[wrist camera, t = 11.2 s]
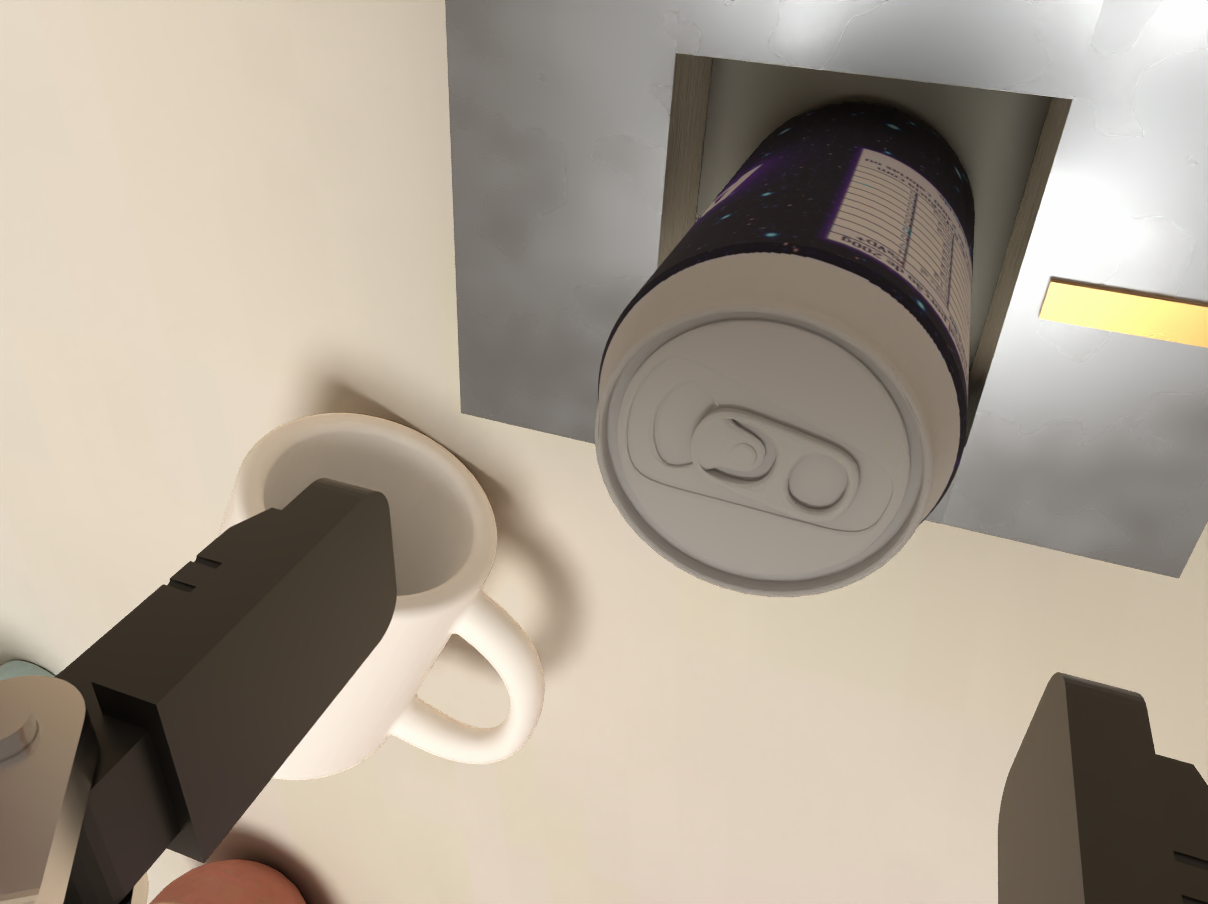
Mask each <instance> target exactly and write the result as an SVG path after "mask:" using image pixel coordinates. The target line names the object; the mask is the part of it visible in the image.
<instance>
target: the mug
mask: <svg viewBox="0 0 1208 904" xmlns="http://www.w3.org/2000/svg"><path fill="white" fill-rule="evenodd" d="M320 478H329V479H333V480H337V481H340V482H344V483H348V484H352V485H356V486H359V487H363V488H367V489H371V490H375V491H378V492H381V493H383V494H384V495H385V497H386V498H387V500H388V504H389V509H390V519H391V530H392V541H393V552H394V563H395V574H396V585H397V599H396V605H395V610H394V614H393V617H392V620H391V622H390V625H389V627H388V629H387V631H386V633H385V635H384V636H383V638H382V640H381V641H380V642H379V644H378V645H377V646H376V647H375V649H374V650H373V651H372V652H371V654H370V655H369V656H368V658H367V659H366V660H365V661H364V663H363V664H362V665H361V666H360V668H359V669H358V670H357V671H356V673H355V674H354V675H353V676H352V678H351V679H350V680H349V681H348V683H347V684H346V685H345V686H344V688H343V689H342V690H341V692H340V693H339V694H338V695H337V697H336V698H335V699H334V700H333V702H332V703H331V704H330V705H329V707H328V708H327V709H326V710H325V712H324V713H323V714H322V715H321V717H320V718H319V719H318V720H317V722H316V723H315V724H314V726H313V727H312V728H311V729H310V731H309V732H308V733H307V734H306V736H305V737H304V738H303V739H302V741H301V742H300V743H299V744H298V746H297V747H296V748H295V749H294V751H293V752H292V753H291V754H290V756H289V757H288V758H287V759H286V761H285V762H284V763H283V765H282V766H281V767H280V768H279V770H278V771H277V772H276V773H275V775H274V776H273V777H272V778H276V779H285V780H309V779H317V778H323V777H327V776H331V775H334V774H337V773H340V772H343V771H345V770H347V769H350V768H352V767H354V766H355V765H357V764H359V763H361V762H362V761H364V760H365V759H367V758H368V757H369V756H371V755H372V754H373V753H374V752H375V751H376V750H377V749H378V748H379V747H380V746H381V745H382V744H383V743H384V742H385V741H386V740H387V738H388V737H389V736H390V735H394V736H396V737H398V738H400V739H401V740H403V741H405V742H407V743H409V744H411V745H413V746H415V747H417V748H419V749H421V750H423V751H426V752H428V753H431V754H433V755H436V756H439V757H442V758H445V759H448V760H452V761H456V762H462V763H469V764H488V763H494V762H498V761H501V760H504V759H506V758H508V757H510V756H512V755H513V754H514V753H516V752H517V751H518V750H519V749H520V748H521V747H522V746H523V745H524V744H525V743H526V741H527V740H528V739H529V737H530V736H531V734H532V732H533V730H534V728H535V726H536V724H537V722H538V719H539V717H540V714H541V710H542V706H543V701H544V692H545V683H544V674H543V669H542V665H541V662H540V659H539V656H538V654H537V652H536V650H535V648H534V646H533V644H532V642H531V641H530V639H529V637H528V636H527V635H526V633H525V632H524V630H523V629H522V628H521V627H520V625H519V624H518V623H517V622H516V621H515V620H514V619H513V618H512V617H511V616H510V615H509V614H508V613H507V612H506V611H505V610H504V609H503V608H502V607H501V606H500V605H499V604H498V603H496V602H495V601H494V600H493V599H492V598H490V597H489V596H488V595H487V594H485V593H484V591H483V590H482V584H483V583H484V581H485V580H486V578H487V576H488V574H489V572H490V570H491V568H492V565H493V562H494V559H495V555H496V550H497V528H496V521H495V517H494V513H493V510H492V507H491V505H490V503H489V500H488V498H487V496H486V494H485V492H484V491H483V489H482V487H481V486H480V484H479V483H478V481H477V480H476V478H475V477H474V476H473V475H472V473H471V472H470V471H469V470H468V469H467V468H466V467H465V465H464V464H463V463H461V462H460V461H459V460H458V459H457V458H456V457H455V456H454V455H453V454H452V453H450V452H449V451H448V450H447V449H445V448H444V447H443V446H441V445H440V444H438V443H437V442H435V441H434V440H432V439H430V438H429V437H427V436H425V435H423V434H421V433H419V432H417V431H415V430H413V429H411V428H409V427H406V426H404V425H401V424H399V423H396V422H393V421H390V420H386V419H383V418H378V417H374V416H369V415H363V414H354V413H325V414H317V415H311V416H307V417H303V418H299V419H296V420H293V421H290V422H288V423H286V424H283V425H281V426H279V427H277V428H276V429H274V430H272V431H271V432H269V433H268V434H267V435H265V436H264V437H263V438H261V439H260V440H259V441H258V442H257V443H256V444H255V445H254V446H253V448H252V449H251V450H250V451H249V452H248V454H247V455H246V457H245V459H244V460H243V462H242V464H241V466H240V468H239V471H238V474H237V477H236V480H235V484H234V487H233V490H232V493H231V497H230V500H229V503H228V506H227V509H226V513H225V516H224V519H223V522H222V526H221V529H220V532H219V535H218V537H219V536H220V535H221V534H222V533H223V532H225V531H226V530H227V529H228V528H229V527H231V526H234V525H236V524H238V523H240V522H242V521H244V520H246V519H248V518H251V517H253V516H255V515H257V514H259V513H261V512H263V511H265V510H268V509H270V508H276V509H279V510H282V509H283V508H284V507H286V506H287V505H288V504H289V503H290V502H291V501H292V500H293V499H294V498H296V497H297V496H298V495H299V494H300V493H301V492H302V491H303V490H304V489H306V488H307V487H308V486H309V485H310V484H311V483H313V482H314V481H316V480H318V479H320ZM452 634H458V635H460V636H461V637H462V638H464V639H465V640H466V641H467V642H468V643H470V644H471V645H472V646H473V647H474V648H475V649H477V650H478V651H479V652H480V653H481V654H482V655H483V656H484V657H485V658H486V659H487V660H488V661H489V662H490V663H491V665H492V666H493V667H494V668H495V670H496V671H497V672H498V674H499V675H500V676H501V678H502V680H503V681H504V683H505V685H506V687H507V690H508V693H509V696H510V711H509V714H508V716H507V717H506V719H505V720H504V721H503V722H502V723H501V724H500V725H498V726H496V727H493V728H478V727H473V726H470V725H467V724H465V723H462V722H460V721H458V720H456V719H454V718H452V717H450V716H448V715H446V714H444V713H443V712H441V711H439V710H437V709H436V708H434V707H432V706H431V705H429V704H427V703H426V702H424V701H422V700H421V699H419V698H418V696H417V690H418V689H419V687H420V686H421V684H422V682H423V681H424V679H425V677H426V676H427V674H428V673H429V671H430V669H431V668H432V666H433V664H434V663H435V661H436V659H437V658H438V656H439V655H440V653H441V651H442V650H443V648H444V646H445V645H446V643H447V642H448V640H449V638H450V637H451V635H452Z"/></svg>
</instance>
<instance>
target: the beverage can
mask: <svg viewBox="0 0 1208 904" xmlns="http://www.w3.org/2000/svg"><path fill="white" fill-rule="evenodd" d="M974 219H975V212H974V201H973V195H972V191H971V187H970V183H969V180H968V177H967V175H966V172H965V170H964V168H963V166H962V164H961V162H960V161H959V159H958V157H957V156H956V154H955V153H954V151H953V150H952V148H951V147H950V146H949V145H948V144H947V142H946V141H945V140H944V139H943V138H942V137H941V136H940V135H939V134H938V133H937V132H935V131H934V130H933V129H932V128H931V127H929V126H928V125H926V124H925V123H924V122H922V121H920V120H919V119H917V118H915V117H913V116H911V115H909V114H907V113H905V112H903V111H900V110H897V109H895V108H891V107H888V106H884V105H879V104H873V103H862V102H849V103H838V104H832V105H827V106H823V107H819V108H816V109H813V110H810V111H808V112H805V113H803V114H801V115H799V116H797V117H795V118H793V119H791V120H789V121H788V122H786V123H785V124H783V125H782V126H780V127H779V128H778V129H776V130H775V131H774V132H773V133H771V134H770V135H769V136H768V137H767V138H766V139H765V140H764V141H763V142H762V143H761V144H760V145H759V146H758V148H757V149H756V150H755V151H754V152H753V154H752V155H751V156H750V157H749V158H748V160H747V161H746V162H745V163H744V164H743V166H742V167H741V168H740V169H739V171H738V172H737V173H736V174H735V175H734V177H733V178H732V179H731V180H730V181H729V183H728V184H727V185H726V186H725V187H724V189H723V190H722V191H721V192H720V194H719V195H718V196H717V197H716V198H715V200H714V201H713V202H712V203H711V204H710V206H709V207H708V208H707V209H706V211H705V212H704V213H703V214H702V215H701V217H700V218H699V219H698V220H697V221H696V223H695V224H694V225H693V226H692V227H691V229H690V230H689V231H688V232H687V234H686V235H685V236H684V237H683V238H682V240H681V241H680V242H679V243H678V244H677V246H676V247H675V248H674V249H673V250H672V252H671V253H670V254H669V255H668V257H667V258H666V259H665V260H664V261H663V263H662V264H661V265H660V266H659V267H658V269H657V270H656V271H655V272H654V274H653V275H652V276H651V277H650V278H649V280H648V281H647V282H646V283H645V284H644V286H643V287H642V288H641V289H640V290H639V292H638V293H637V294H636V295H635V297H634V298H633V299H632V300H631V301H630V303H629V304H628V305H627V307H626V308H625V309H624V310H623V312H622V314H621V315H620V317H619V318H618V320H617V321H616V323H615V325H614V327H613V329H612V331H611V333H610V336H609V338H608V340H607V343H606V346H605V349H604V352H603V355H602V360H601V364H600V370H599V378H598V406H597V412H596V419H595V445H596V453H597V460H598V464H599V467H600V471H601V474H602V477H603V481H604V483H605V485H606V487H607V490H608V492H609V494H610V496H611V498H612V500H613V502H614V504H615V505H616V507H617V508H618V510H619V511H620V513H621V514H622V516H623V517H624V519H625V520H626V522H627V523H628V524H629V525H630V526H631V527H632V529H633V530H634V531H635V532H636V533H637V534H638V536H639V537H640V538H641V539H642V540H643V541H645V542H646V543H647V544H648V545H649V546H650V547H651V548H652V549H653V550H655V551H656V552H657V553H658V554H659V555H661V556H662V557H664V558H665V559H666V560H668V561H669V562H671V563H672V564H674V565H675V566H677V567H678V568H680V569H682V570H684V571H686V572H687V573H689V574H691V575H693V576H695V577H697V578H699V579H701V580H704V581H706V582H709V583H711V584H714V585H717V586H719V587H722V588H726V589H730V590H733V591H737V592H741V593H745V594H752V595H760V596H767V597H798V596H806V595H814V594H820V593H824V592H828V591H831V590H835V589H839V588H842V587H844V586H847V585H849V584H851V583H854V582H856V581H858V580H861V579H863V578H865V577H866V576H868V575H869V574H871V573H872V572H874V571H876V570H877V569H879V568H880V567H882V566H883V565H884V564H886V563H887V562H888V561H889V560H890V559H891V558H892V557H893V556H894V555H896V554H897V553H898V552H899V551H900V550H901V549H902V547H903V546H904V545H905V544H906V543H907V541H908V540H909V539H910V537H911V536H912V535H913V533H914V532H915V530H916V528H917V527H918V525H920V524H921V523H922V522H923V521H924V520H925V519H926V518H927V517H928V516H929V515H930V513H931V512H932V511H933V510H934V509H935V508H936V506H937V505H938V504H939V502H940V501H941V500H942V498H943V497H944V495H945V494H946V492H947V490H948V489H949V487H950V485H951V483H952V481H953V479H954V477H955V474H956V472H957V470H958V467H959V464H960V461H961V457H962V454H963V449H964V444H965V438H966V428H967V404H968V378H969V352H970V326H971V300H972V274H973V247H974Z"/></svg>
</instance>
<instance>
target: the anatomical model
mask: <svg viewBox="0 0 1208 904" xmlns="http://www.w3.org/2000/svg"><path fill="white" fill-rule="evenodd" d="M150 904H306V902H305V901H304V899H303V897H302V895H301V894H300V892H299V890H298V889H297V887H296V886H295V885H294V884H293V883H292V882H291V881H289V880H288V879H287V878H286V877H285V876H284V875H283V874H282V873H280V872H278V871H277V870H275V869H274V868H272V867H270V866H267V865H265V864H262V863H259V862H255V861H250V860H242V859H232V860H222V861H214V862H211V863H208V864H205V865H203V866H200V867H197V868H194V869H192V870H190V871H189V872H187V873H185V874H184V875H182V876H180V877H179V878H177V879H176V880H174V881H173V882H171V883H170V884H169V885H168V886H166V887H165V888H164V889H163V890H162V891H161V892H160V893H159V894H158V895H157V896H156V897H155V898H154V900H153V901H152V902H151V903H150Z"/></svg>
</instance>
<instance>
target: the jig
mask: <svg viewBox="0 0 1208 904" xmlns="http://www.w3.org/2000/svg"><path fill="white" fill-rule="evenodd" d="M445 4H446V31H447V57H448V83H449V109H450V135H451V161H452V188H453V214H454V240H455V266H456V292H457V319H458V345H459V371H460V397H461V413H463V414H468V415H472V416H476V417H481V418H485V419H489V420H494V421H498V422H502V423H507V424H511V425H515V426H520V427H524V428H528V429H533V430H537V431H541V432H546V433H550V434H555V435H559V436H563V437H568V438H572V439H576V440H581V441H585V442H589V443H594V444H595V419H596V412H597V406H598V378H599V370H600V364H601V360H602V355H603V352H604V349H605V346H606V343H607V340H608V338H609V336H610V333H611V331H612V329H613V327H614V325H615V323H616V321H617V320H618V318H619V317H620V315H621V314H622V312H623V310H624V309H625V308H626V307H627V305H628V304H629V303H630V301H631V300H632V299H633V298H634V297H635V295H636V294H637V293H638V292H639V290H640V289H641V288H642V287H643V286H644V284H645V283H646V282H647V281H648V280H649V278H650V277H651V276H652V275H653V274H654V272H655V271H656V270H657V269H658V267H659V266H660V265H661V264H662V263H663V261H664V260H665V259H666V258H667V257H668V255H669V254H670V253H671V252H672V250H673V249H674V248H675V247H676V246H677V244H678V243H679V242H680V241H681V240H682V238H683V237H684V236H685V235H686V234H687V232H688V231H689V230H690V229H691V227H692V226H693V225H694V224H695V219H696V209H697V200H698V191H699V181H700V172H701V162H702V153H703V143H704V134H705V125H706V115H707V106H708V96H709V87H710V77H711V68H712V58H722V59H730V60H739V61H748V62H756V63H765V64H773V65H782V66H791V67H799V68H808V69H817V70H825V71H834V72H842V73H851V74H860V75H868V76H877V77H885V78H894V79H903V80H911V81H920V82H928V83H937V84H946V85H954V86H963V87H971V88H980V89H989V90H997V91H1006V92H1014V93H1023V94H1032V95H1040V96H1049V97H1052V100H1051V103H1050V106H1049V110H1048V113H1047V116H1046V120H1045V123H1044V127H1043V130H1042V133H1041V137H1040V140H1039V143H1038V147H1037V150H1036V153H1035V157H1034V160H1033V164H1032V167H1031V170H1030V174H1029V177H1028V180H1027V184H1026V187H1025V191H1024V194H1023V197H1022V201H1021V204H1020V207H1019V211H1018V214H1017V217H1016V221H1015V224H1014V228H1013V231H1012V234H1011V238H1010V241H1009V244H1008V248H1007V251H1006V254H1005V258H1004V261H1003V265H1002V268H1001V271H1000V275H999V278H998V281H997V285H996V288H995V292H994V295H993V298H992V302H991V305H990V308H989V312H988V315H987V318H986V322H985V325H984V329H983V332H982V335H981V339H980V342H979V345H978V349H977V352H976V355H975V359H974V362H973V366H972V369H971V372H970V376H969V379H968V404H967V428H966V438H965V444H964V449H963V454H962V457H961V461H960V464H959V467H958V470H957V472H956V474H955V477H954V479H953V481H952V483H951V485H950V487H949V489H948V490H947V492H946V494H945V495H944V497H943V498H942V500H941V501H940V502H939V504H938V505H937V506H936V508H935V509H934V510H933V511H932V512H931V513H930V515H929V516H928V517H927V518H926V519H925V520H928V521H932V522H936V523H941V524H945V525H949V526H954V527H958V528H962V529H967V530H971V531H975V532H980V533H984V534H988V535H993V536H997V537H1001V538H1006V539H1010V540H1014V541H1019V542H1023V543H1027V544H1032V545H1036V546H1040V547H1045V548H1049V549H1053V550H1058V551H1062V552H1066V553H1071V554H1075V555H1079V556H1084V557H1088V558H1092V559H1097V560H1101V561H1105V562H1110V563H1114V564H1118V565H1123V566H1127V567H1131V568H1136V569H1140V570H1144V571H1149V572H1153V573H1157V574H1162V575H1166V576H1171V577H1175V578H1179V577H1180V575H1181V573H1182V571H1183V569H1184V567H1185V565H1186V563H1187V561H1188V559H1189V557H1190V555H1191V553H1192V551H1193V549H1194V547H1195V545H1196V543H1197V541H1198V539H1199V537H1200V535H1201V533H1202V531H1203V529H1204V527H1205V525H1206V523H1207V521H1208V0H445Z"/></svg>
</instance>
